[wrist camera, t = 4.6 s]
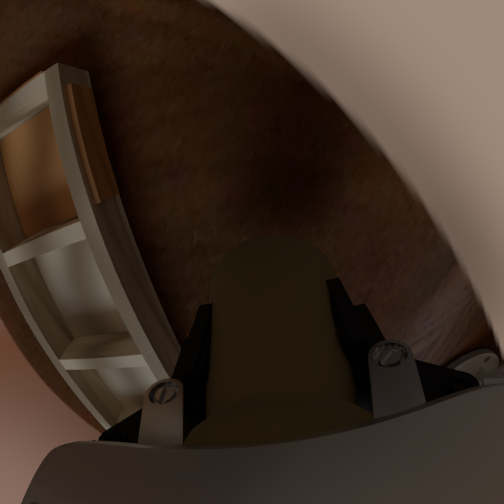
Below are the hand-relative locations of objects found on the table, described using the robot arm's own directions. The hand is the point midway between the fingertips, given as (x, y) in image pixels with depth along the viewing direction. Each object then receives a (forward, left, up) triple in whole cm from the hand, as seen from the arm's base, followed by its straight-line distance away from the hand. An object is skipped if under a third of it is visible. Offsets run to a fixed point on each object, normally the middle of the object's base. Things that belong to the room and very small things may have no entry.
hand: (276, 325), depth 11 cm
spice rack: (+13, -1, -7) cm, 14 cm away
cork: (0, 0, -3) cm, 3 cm away
